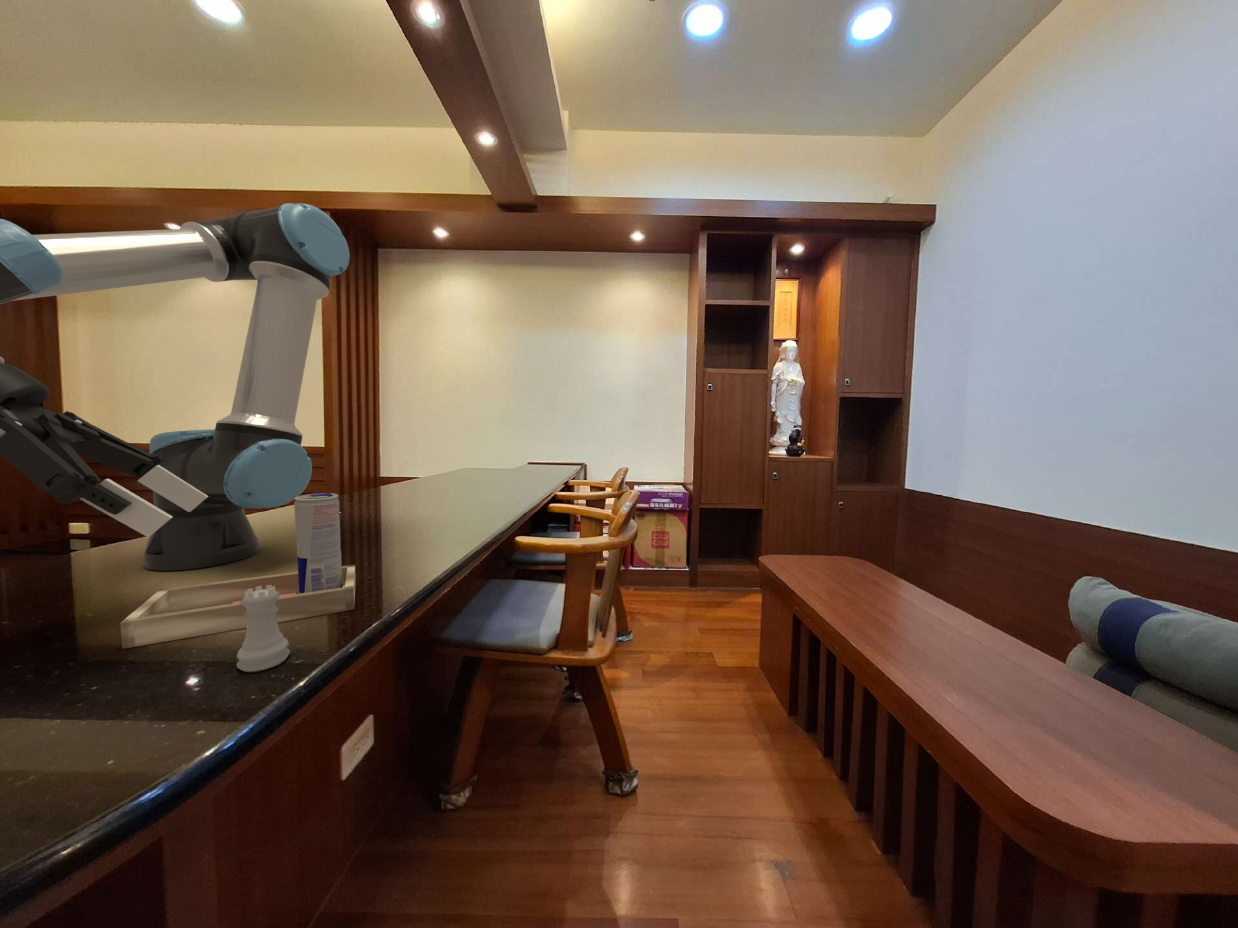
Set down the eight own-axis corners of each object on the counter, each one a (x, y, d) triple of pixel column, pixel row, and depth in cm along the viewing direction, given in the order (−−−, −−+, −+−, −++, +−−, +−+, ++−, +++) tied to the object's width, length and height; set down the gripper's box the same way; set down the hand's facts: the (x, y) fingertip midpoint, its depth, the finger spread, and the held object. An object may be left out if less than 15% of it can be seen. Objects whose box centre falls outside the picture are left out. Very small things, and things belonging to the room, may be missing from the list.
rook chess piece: (260, 676, 44) (255, 600, 43) (224, 670, 44) (219, 595, 44) (301, 653, 48) (297, 583, 47) (268, 648, 49) (263, 580, 48)
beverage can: (338, 588, 65) (333, 490, 64) (346, 598, 62) (342, 495, 60) (296, 597, 62) (291, 494, 60) (303, 609, 58) (297, 499, 57)
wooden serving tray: (162, 610, 58) (160, 589, 57) (355, 582, 69) (354, 564, 68) (122, 648, 48) (120, 622, 48) (354, 609, 59) (353, 588, 59)
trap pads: (233, 603, 60) (233, 601, 60) (295, 594, 64) (295, 592, 64) (215, 628, 53) (215, 626, 53) (287, 617, 57) (287, 614, 57)
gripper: (11, 410, 54) (188, 516, 63) (-215, 410, 32) (102, 570, 42) (70, 370, 56) (233, 478, 65) (-105, 344, 35) (173, 511, 44)
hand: (182, 514), depth 54 cm, fingers open, 13 cm apart
